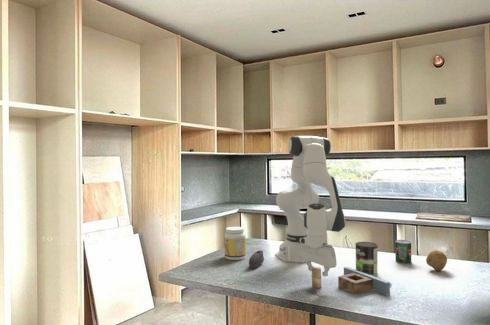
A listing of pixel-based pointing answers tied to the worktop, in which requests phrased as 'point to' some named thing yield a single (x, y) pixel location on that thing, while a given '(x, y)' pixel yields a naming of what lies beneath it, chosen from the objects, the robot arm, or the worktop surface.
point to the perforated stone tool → (256, 259)
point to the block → (355, 283)
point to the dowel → (316, 277)
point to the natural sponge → (436, 260)
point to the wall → (378, 283)
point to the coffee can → (366, 257)
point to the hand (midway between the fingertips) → (317, 273)
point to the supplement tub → (235, 243)
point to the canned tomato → (403, 251)
